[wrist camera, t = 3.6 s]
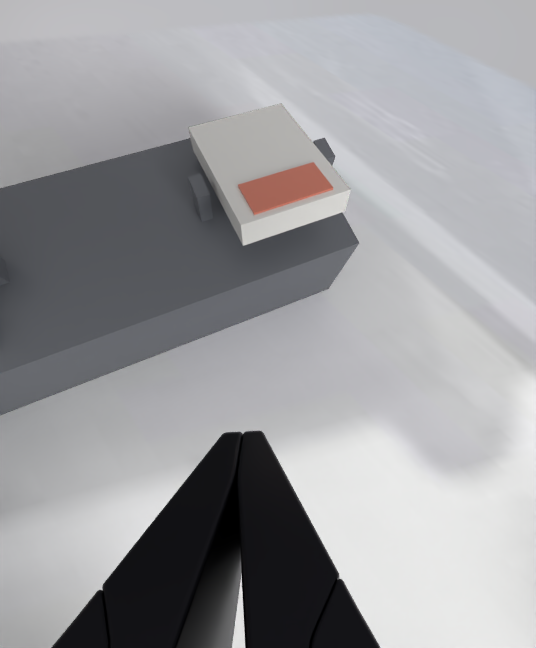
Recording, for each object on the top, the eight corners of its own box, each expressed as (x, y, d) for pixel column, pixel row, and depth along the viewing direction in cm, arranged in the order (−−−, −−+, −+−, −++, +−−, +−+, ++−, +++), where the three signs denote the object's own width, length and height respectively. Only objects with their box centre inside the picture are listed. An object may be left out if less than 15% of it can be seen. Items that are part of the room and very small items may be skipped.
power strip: (328, 288, 22) (373, 222, 15) (-35, 428, 18) (-233, 435, 10) (274, 182, 24) (289, 77, 17) (-61, 284, 20) (-242, 205, 12)
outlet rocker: (345, 211, 15) (351, 187, 13) (243, 245, 14) (240, 223, 12) (280, 126, 17) (281, 101, 16) (193, 150, 17) (187, 125, 15)
